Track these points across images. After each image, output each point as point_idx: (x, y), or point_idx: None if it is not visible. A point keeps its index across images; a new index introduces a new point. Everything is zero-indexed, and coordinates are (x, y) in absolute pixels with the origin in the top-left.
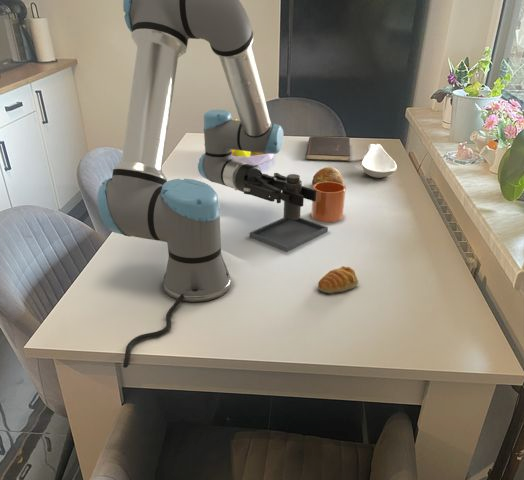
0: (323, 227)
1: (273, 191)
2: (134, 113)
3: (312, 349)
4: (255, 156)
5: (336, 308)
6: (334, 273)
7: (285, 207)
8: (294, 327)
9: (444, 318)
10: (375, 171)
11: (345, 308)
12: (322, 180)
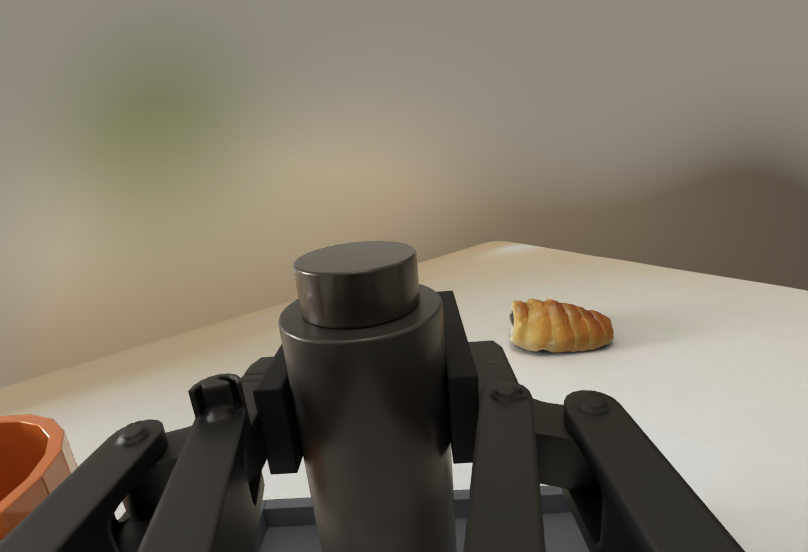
0: (260, 519)
1: (577, 401)
2: None
3: (717, 286)
4: None
5: (608, 312)
6: (563, 308)
7: (452, 503)
8: (734, 312)
9: (469, 270)
10: None
11: (590, 308)
12: None
